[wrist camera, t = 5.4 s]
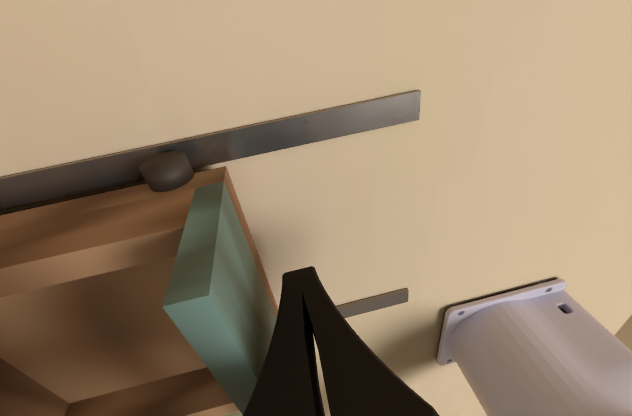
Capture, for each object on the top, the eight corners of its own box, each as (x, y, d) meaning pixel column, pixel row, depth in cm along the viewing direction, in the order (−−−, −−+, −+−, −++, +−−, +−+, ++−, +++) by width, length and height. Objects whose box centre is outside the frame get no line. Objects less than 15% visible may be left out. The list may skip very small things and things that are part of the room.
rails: (418, 89, 12) (420, 90, 12) (406, 299, 20) (407, 301, 20) (-159, 210, 11) (-165, 213, 11) (78, 384, 19) (77, 387, 19)
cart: (220, 140, 11) (194, 270, 6) (289, 334, 19) (306, 466, 14) (-146, 218, 10) (-576, 454, 5) (85, 388, 18) (16, 551, 13)
